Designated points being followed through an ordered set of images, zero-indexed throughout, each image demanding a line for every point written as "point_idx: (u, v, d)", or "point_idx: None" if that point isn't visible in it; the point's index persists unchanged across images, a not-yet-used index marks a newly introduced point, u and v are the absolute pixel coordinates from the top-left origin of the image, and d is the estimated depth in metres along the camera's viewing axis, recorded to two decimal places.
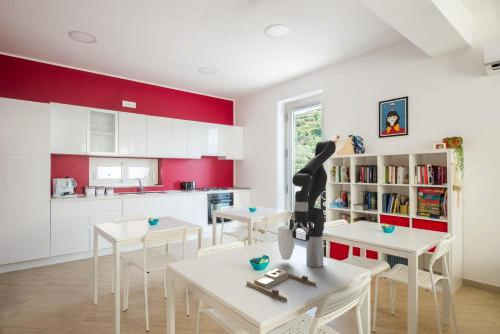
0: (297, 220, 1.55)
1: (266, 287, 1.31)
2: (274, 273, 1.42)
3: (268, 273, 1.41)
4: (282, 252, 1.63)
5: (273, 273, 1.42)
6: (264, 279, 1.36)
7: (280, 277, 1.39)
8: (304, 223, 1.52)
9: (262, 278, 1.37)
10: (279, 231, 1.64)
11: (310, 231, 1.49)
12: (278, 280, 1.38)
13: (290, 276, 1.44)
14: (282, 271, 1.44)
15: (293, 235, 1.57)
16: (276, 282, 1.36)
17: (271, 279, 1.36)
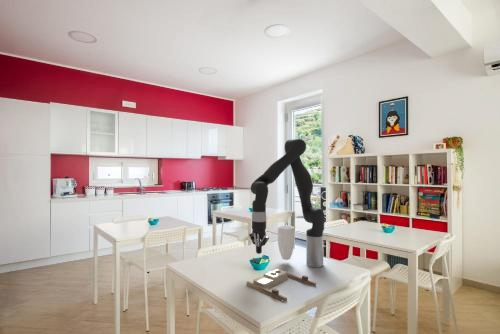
0: (255, 231, 1.46)
1: (265, 287, 1.31)
2: (273, 273, 1.42)
3: (267, 273, 1.40)
4: (282, 252, 1.63)
5: (272, 273, 1.42)
6: (263, 279, 1.36)
7: (279, 277, 1.38)
8: (261, 237, 1.43)
9: (261, 278, 1.36)
10: (279, 231, 1.64)
11: (261, 244, 1.43)
12: (277, 280, 1.37)
13: (290, 276, 1.44)
14: (281, 271, 1.43)
15: (256, 250, 1.45)
16: (275, 282, 1.36)
17: (270, 279, 1.35)
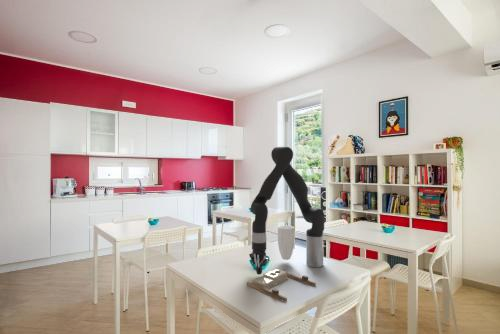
0: (255, 251, 1.46)
1: None
2: (273, 274, 1.42)
3: (267, 274, 1.40)
4: (282, 252, 1.63)
5: (272, 274, 1.42)
6: (263, 279, 1.35)
7: (279, 278, 1.38)
8: (261, 258, 1.43)
9: (261, 279, 1.36)
10: (279, 231, 1.64)
11: (261, 265, 1.43)
12: (277, 280, 1.37)
13: (290, 276, 1.44)
14: (281, 272, 1.43)
15: (257, 271, 1.45)
16: (275, 283, 1.36)
17: (270, 280, 1.35)
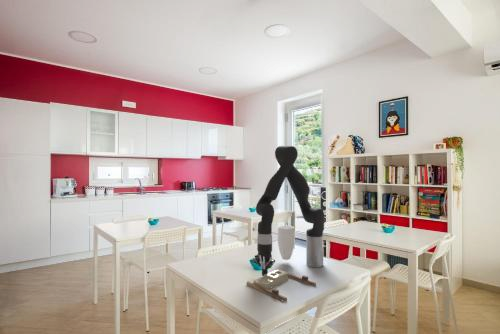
0: (260, 253, 1.44)
1: (265, 288, 1.30)
2: (274, 274, 1.41)
3: (268, 274, 1.40)
4: (282, 252, 1.63)
5: (273, 274, 1.41)
6: (263, 280, 1.35)
7: (280, 278, 1.37)
8: (267, 259, 1.40)
9: (261, 279, 1.36)
10: (279, 231, 1.64)
11: (267, 267, 1.40)
12: (278, 281, 1.36)
13: (290, 276, 1.44)
14: (282, 272, 1.42)
15: (262, 273, 1.43)
16: (275, 283, 1.35)
17: (270, 280, 1.34)
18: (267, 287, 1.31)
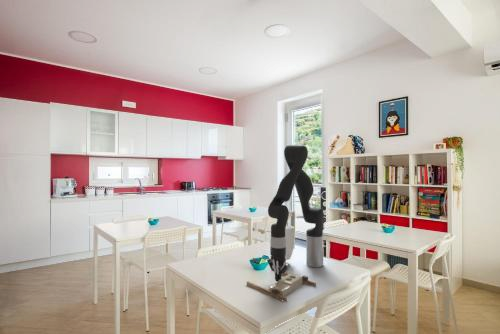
0: (274, 257, 1.37)
1: (283, 295, 1.23)
2: (288, 279, 1.35)
3: (283, 279, 1.33)
4: None
5: (287, 279, 1.35)
6: (280, 285, 1.28)
7: (295, 283, 1.32)
8: (281, 264, 1.34)
9: (277, 285, 1.29)
10: None
11: (281, 271, 1.33)
12: (294, 286, 1.30)
13: None
14: (296, 276, 1.36)
15: (276, 278, 1.36)
16: (292, 289, 1.29)
17: (287, 286, 1.28)
18: (285, 293, 1.24)
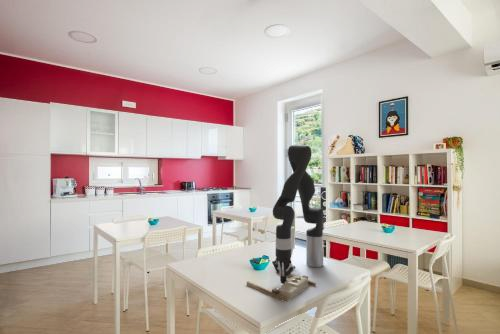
0: (279, 259, 1.35)
1: (291, 297, 1.21)
2: (294, 280, 1.33)
3: (289, 281, 1.31)
4: None
5: (293, 281, 1.33)
6: (286, 287, 1.26)
7: (302, 285, 1.30)
8: (286, 266, 1.31)
9: (284, 287, 1.27)
10: None
11: (287, 273, 1.31)
12: (300, 288, 1.28)
13: (290, 276, 1.44)
14: (302, 278, 1.35)
15: (281, 280, 1.34)
16: (299, 290, 1.27)
17: (294, 287, 1.26)
18: (292, 295, 1.22)
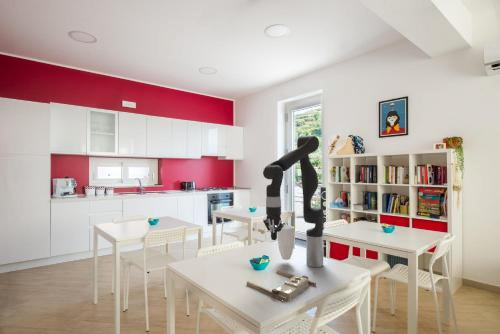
0: (269, 217, 1.41)
1: (290, 297, 1.21)
2: (294, 281, 1.32)
3: (288, 281, 1.31)
4: (282, 252, 1.63)
5: (293, 281, 1.32)
6: (286, 288, 1.26)
7: (302, 285, 1.29)
8: (276, 222, 1.38)
9: (283, 287, 1.26)
10: (279, 231, 1.64)
11: (277, 230, 1.38)
12: (300, 288, 1.28)
13: (290, 276, 1.44)
14: (302, 278, 1.34)
15: (272, 236, 1.40)
16: (298, 291, 1.27)
17: (293, 288, 1.26)
18: (291, 296, 1.22)
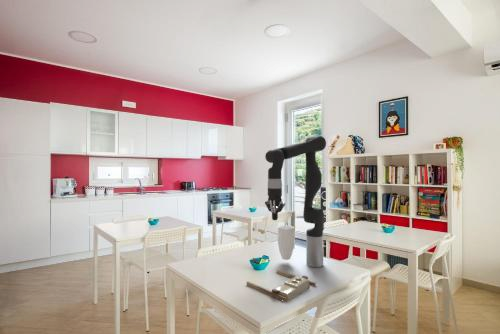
0: (271, 198, 1.49)
1: (288, 297, 1.21)
2: (294, 281, 1.32)
3: (288, 281, 1.30)
4: (282, 252, 1.63)
5: (293, 281, 1.32)
6: (285, 288, 1.26)
7: (302, 286, 1.29)
8: (277, 203, 1.46)
9: (282, 287, 1.26)
10: (279, 231, 1.64)
11: (277, 210, 1.46)
12: (300, 289, 1.27)
13: (290, 276, 1.44)
14: (303, 279, 1.33)
15: (273, 217, 1.48)
16: (298, 291, 1.26)
17: (292, 288, 1.25)
18: (290, 296, 1.22)
